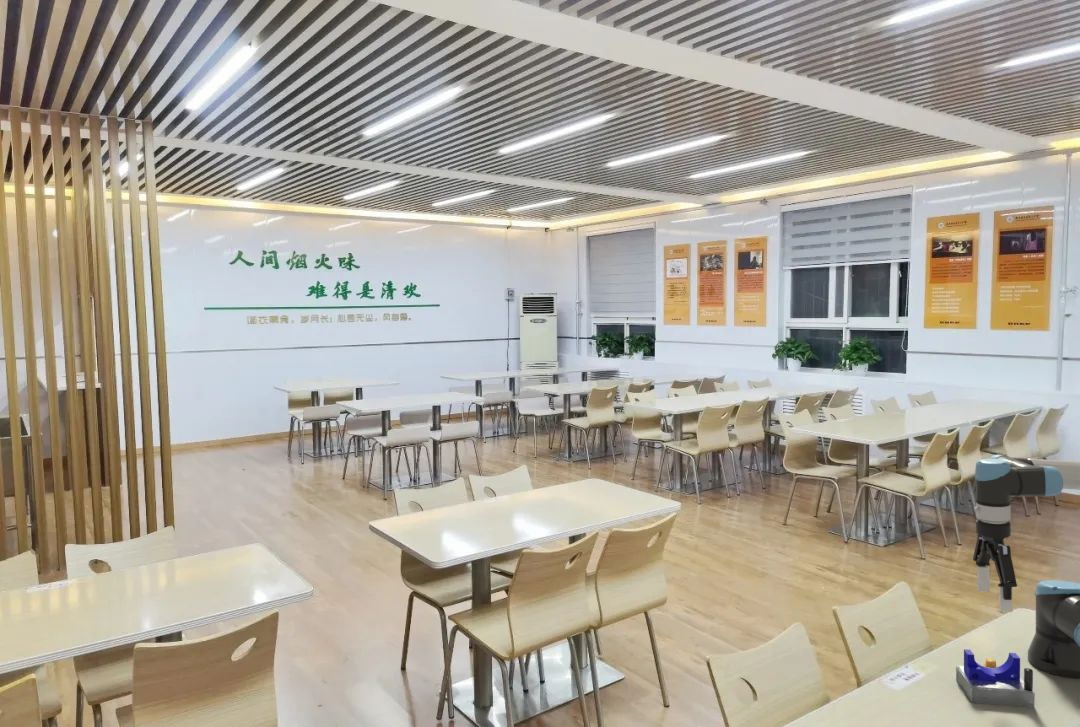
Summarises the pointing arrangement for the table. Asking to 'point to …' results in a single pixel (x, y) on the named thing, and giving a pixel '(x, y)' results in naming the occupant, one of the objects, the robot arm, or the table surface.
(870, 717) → the table surface
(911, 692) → the table surface
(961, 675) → the grey square plate
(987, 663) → the chess pawn
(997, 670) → the cable clip
